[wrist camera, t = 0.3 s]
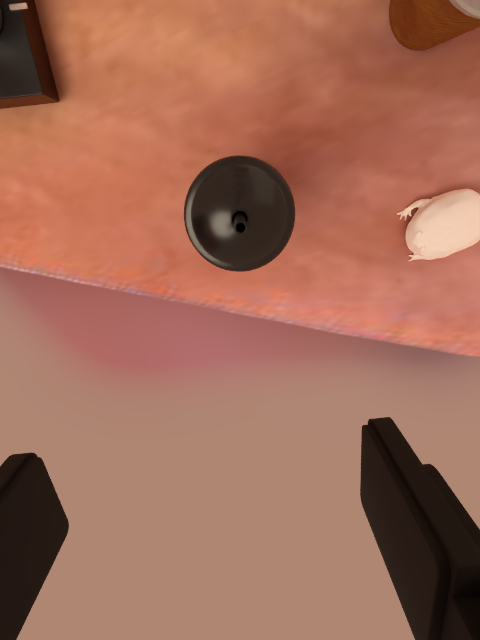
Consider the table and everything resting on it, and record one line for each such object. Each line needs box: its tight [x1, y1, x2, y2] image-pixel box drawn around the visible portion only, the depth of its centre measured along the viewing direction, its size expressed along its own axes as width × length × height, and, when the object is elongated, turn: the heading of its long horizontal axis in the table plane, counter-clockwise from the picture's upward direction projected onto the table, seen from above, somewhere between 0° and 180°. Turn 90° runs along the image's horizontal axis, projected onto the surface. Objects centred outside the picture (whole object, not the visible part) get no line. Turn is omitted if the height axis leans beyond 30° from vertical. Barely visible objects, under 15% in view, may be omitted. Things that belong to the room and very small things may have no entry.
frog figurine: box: [397, 189, 480, 261], centre depth 35 cm, size 8×7×4 cm
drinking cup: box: [184, 156, 295, 271], centre depth 27 cm, size 8×8×20 cm
